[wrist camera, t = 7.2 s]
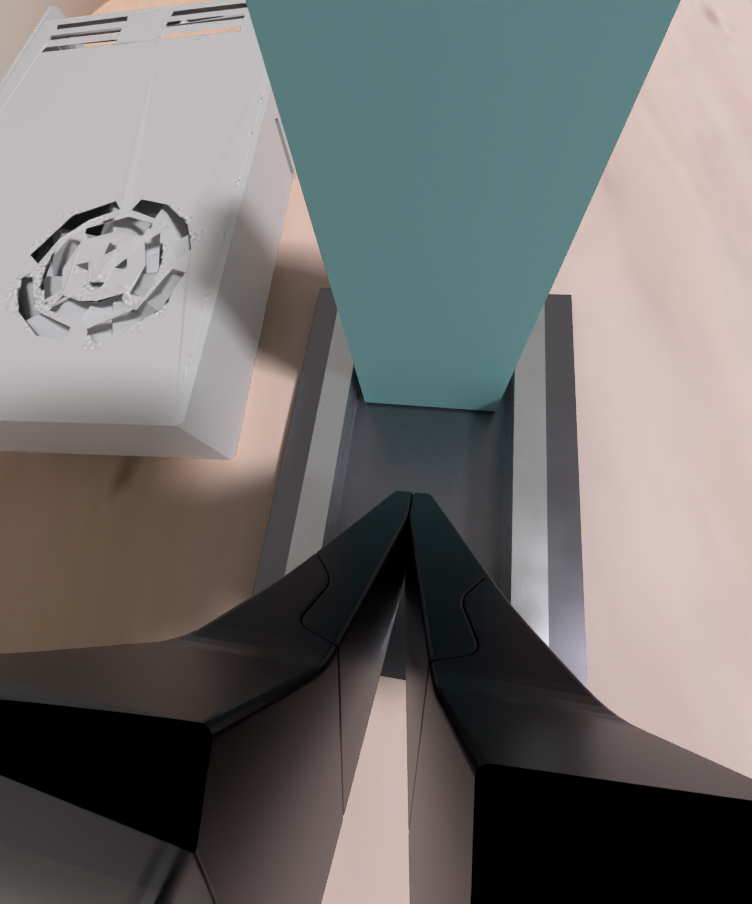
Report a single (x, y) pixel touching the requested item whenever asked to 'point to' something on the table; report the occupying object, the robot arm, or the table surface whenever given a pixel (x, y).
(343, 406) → the chute
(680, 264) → the table surface
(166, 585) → the table surface
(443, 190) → the block
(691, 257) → the table surface
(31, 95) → the power supply unit
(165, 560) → the table surface
